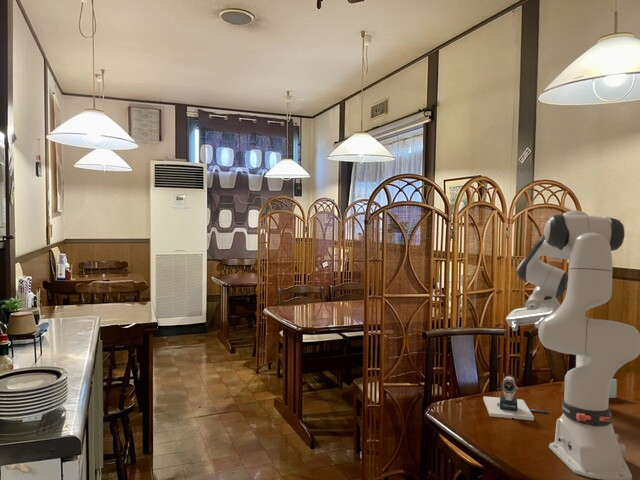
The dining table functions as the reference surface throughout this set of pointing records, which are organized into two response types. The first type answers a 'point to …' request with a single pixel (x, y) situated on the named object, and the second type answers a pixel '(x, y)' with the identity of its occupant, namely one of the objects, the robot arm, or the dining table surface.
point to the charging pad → (495, 410)
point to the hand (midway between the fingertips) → (525, 327)
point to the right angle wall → (612, 388)
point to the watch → (508, 395)
